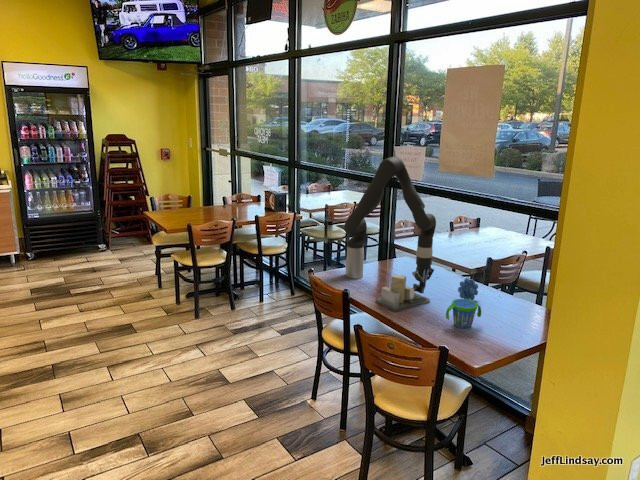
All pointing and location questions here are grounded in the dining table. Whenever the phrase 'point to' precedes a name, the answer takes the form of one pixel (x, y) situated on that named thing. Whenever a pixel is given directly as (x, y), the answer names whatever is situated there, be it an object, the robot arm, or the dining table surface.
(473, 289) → the grapes
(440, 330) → the dining table surface
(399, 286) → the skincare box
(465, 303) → the snack cup
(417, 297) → the vise
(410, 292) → the free jaw
